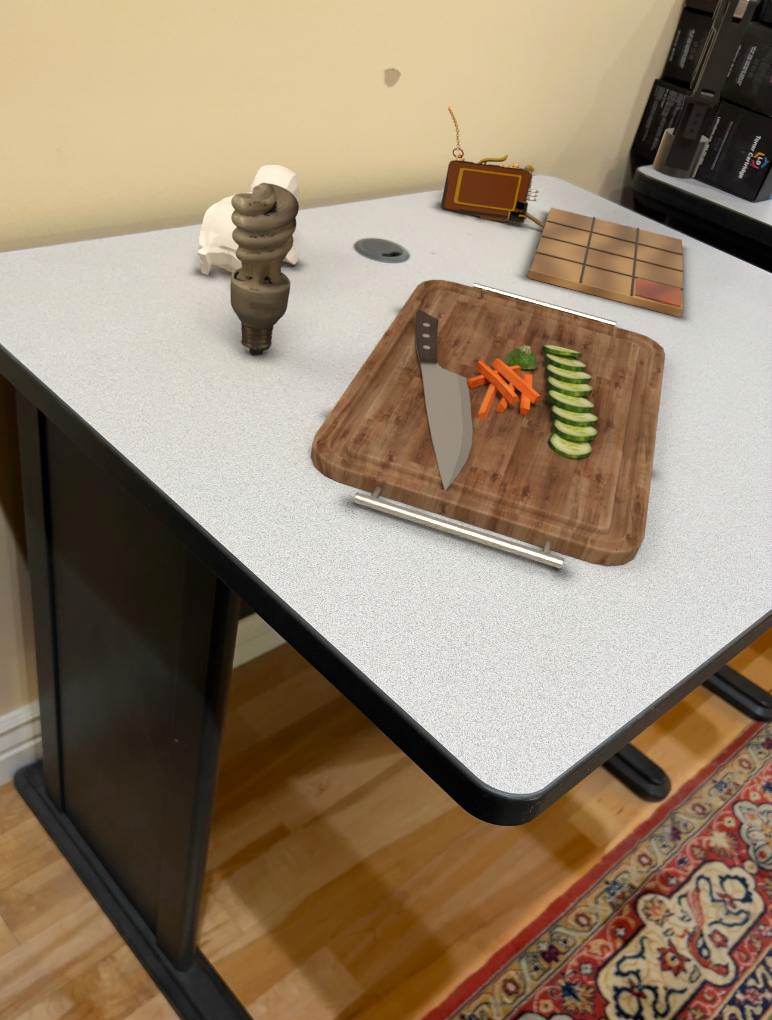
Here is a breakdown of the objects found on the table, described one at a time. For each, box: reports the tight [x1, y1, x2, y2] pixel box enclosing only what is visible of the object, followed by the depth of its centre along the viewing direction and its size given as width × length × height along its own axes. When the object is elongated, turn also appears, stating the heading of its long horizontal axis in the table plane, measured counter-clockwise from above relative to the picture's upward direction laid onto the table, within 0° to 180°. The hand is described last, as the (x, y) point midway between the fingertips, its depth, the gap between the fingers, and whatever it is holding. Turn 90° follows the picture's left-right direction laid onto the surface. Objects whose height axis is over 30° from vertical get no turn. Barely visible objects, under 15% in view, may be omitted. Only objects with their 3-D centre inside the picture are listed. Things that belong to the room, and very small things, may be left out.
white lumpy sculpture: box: [197, 164, 300, 276], centre depth 95 cm, size 9×8×15 cm
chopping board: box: [310, 279, 666, 569], centre depth 81 cm, size 45×27×3 cm, turn 161°
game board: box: [527, 206, 684, 318], centre depth 112 cm, size 18×24×1 cm
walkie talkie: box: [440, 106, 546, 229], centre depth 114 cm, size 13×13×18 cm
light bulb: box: [229, 183, 300, 356], centre depth 77 cm, size 6×6×15 cm
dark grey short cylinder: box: [651, 127, 710, 180], centre depth 103 cm, size 5×5×4 cm
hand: (676, 160), depth 103 cm, fingers closed on dark grey short cylinder, 5 cm apart
